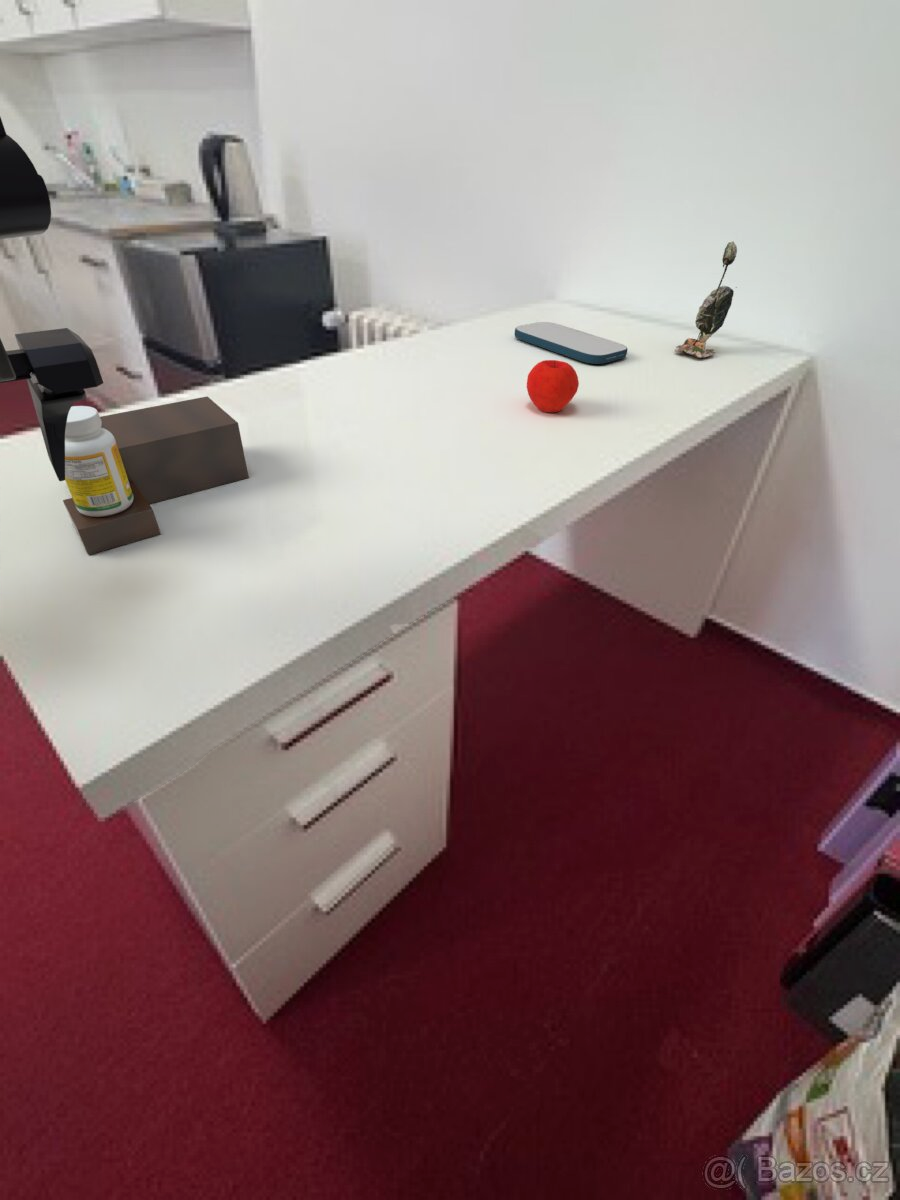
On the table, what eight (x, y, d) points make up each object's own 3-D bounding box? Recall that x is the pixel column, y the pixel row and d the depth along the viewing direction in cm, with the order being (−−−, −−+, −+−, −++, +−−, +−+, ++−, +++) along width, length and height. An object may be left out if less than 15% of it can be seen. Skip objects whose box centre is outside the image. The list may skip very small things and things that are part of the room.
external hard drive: (507, 337, 125) (508, 327, 123) (545, 330, 130) (547, 320, 129) (594, 368, 111) (596, 357, 109) (632, 358, 116) (634, 347, 115)
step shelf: (88, 555, 59) (61, 492, 55) (54, 487, 69) (30, 429, 65) (272, 501, 68) (263, 444, 64) (219, 448, 79) (207, 396, 74)
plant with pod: (730, 353, 121) (766, 240, 109) (696, 362, 116) (730, 244, 103) (696, 343, 126) (727, 234, 114) (662, 351, 121) (691, 237, 108)
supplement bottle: (107, 523, 58) (71, 429, 52) (64, 511, 59) (25, 419, 53) (146, 498, 62) (118, 408, 56) (106, 488, 63) (73, 399, 57)
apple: (568, 399, 97) (575, 353, 93) (579, 418, 91) (588, 369, 87) (520, 399, 97) (525, 352, 92) (528, 418, 91) (534, 368, 86)
